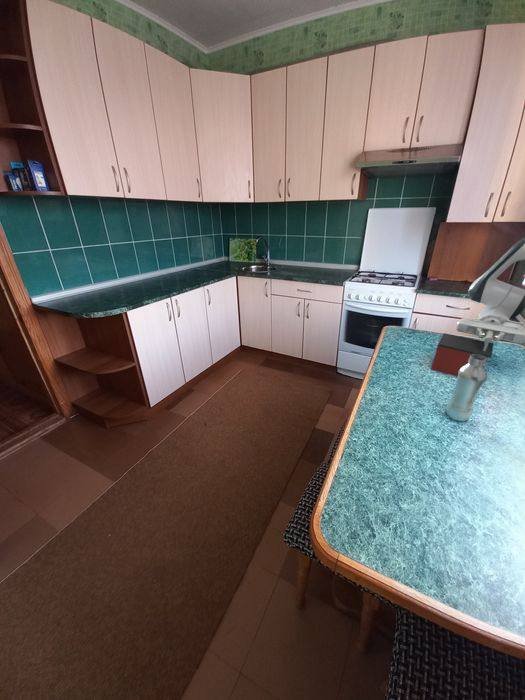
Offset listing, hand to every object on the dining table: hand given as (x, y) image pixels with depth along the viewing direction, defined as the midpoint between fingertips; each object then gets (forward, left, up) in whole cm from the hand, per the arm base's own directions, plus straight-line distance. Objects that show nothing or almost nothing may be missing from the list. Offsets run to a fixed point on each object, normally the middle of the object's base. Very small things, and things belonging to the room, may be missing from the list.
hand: (488, 337), depth 98 cm
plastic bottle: (-11, +28, -15) cm, 34 cm away
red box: (+6, +2, -15) cm, 16 cm away
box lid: (+5, +2, -5) cm, 8 cm away
